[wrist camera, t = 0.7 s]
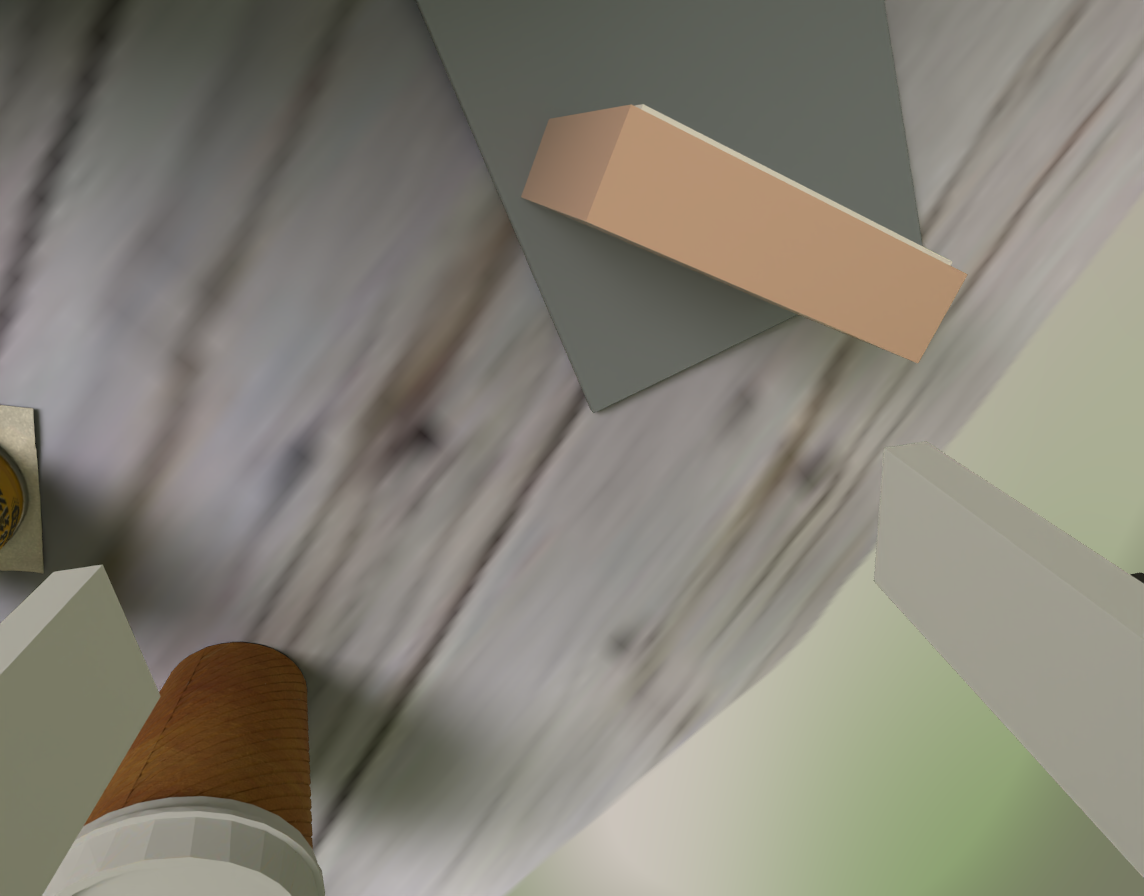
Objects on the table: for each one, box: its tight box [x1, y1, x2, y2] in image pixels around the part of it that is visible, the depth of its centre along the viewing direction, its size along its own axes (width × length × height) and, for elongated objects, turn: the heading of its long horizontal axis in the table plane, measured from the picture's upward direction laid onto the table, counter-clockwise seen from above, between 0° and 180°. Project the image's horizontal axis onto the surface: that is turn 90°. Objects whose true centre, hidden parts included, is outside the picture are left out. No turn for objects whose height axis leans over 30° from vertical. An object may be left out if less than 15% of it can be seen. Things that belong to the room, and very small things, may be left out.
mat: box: [416, 0, 923, 413], centre depth 28 cm, size 19×17×1 cm
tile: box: [521, 104, 968, 363], centre depth 25 cm, size 3×12×10 cm, turn 68°
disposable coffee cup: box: [42, 642, 325, 896], centre depth 28 cm, size 10×10×12 cm
